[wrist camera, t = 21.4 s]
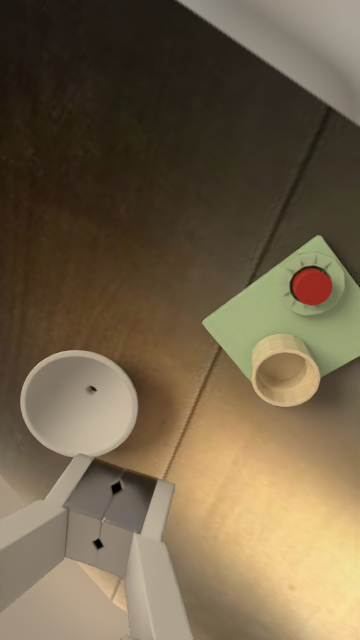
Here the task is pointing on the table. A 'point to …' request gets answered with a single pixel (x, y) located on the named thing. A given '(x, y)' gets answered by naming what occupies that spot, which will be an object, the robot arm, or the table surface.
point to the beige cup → (284, 370)
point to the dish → (79, 403)
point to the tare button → (312, 286)
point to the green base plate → (293, 312)
